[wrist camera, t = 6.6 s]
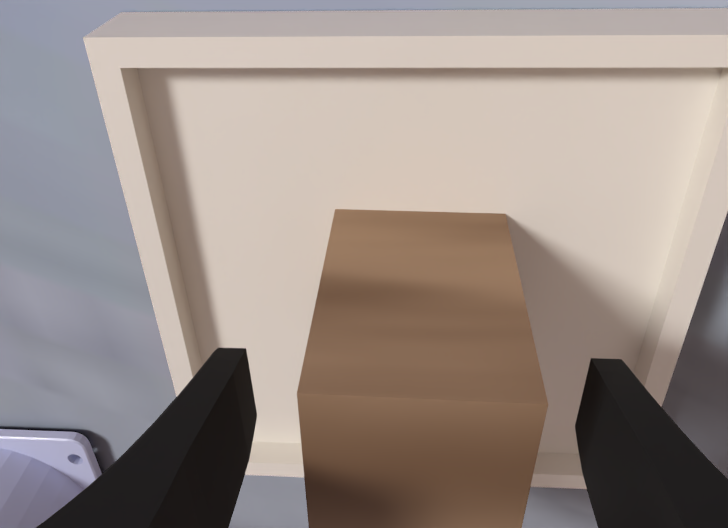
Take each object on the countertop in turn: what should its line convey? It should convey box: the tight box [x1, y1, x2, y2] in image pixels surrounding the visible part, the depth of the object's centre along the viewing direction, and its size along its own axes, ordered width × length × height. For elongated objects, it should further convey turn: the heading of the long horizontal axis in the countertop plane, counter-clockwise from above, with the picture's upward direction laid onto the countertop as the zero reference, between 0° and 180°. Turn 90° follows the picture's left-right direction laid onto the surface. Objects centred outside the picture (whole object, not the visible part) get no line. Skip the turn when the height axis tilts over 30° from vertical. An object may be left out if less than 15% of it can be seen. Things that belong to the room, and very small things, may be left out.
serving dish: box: [83, 8, 728, 489], centre depth 17 cm, size 13×13×2 cm
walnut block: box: [297, 209, 548, 528], centre depth 14 cm, size 4×4×6 cm
